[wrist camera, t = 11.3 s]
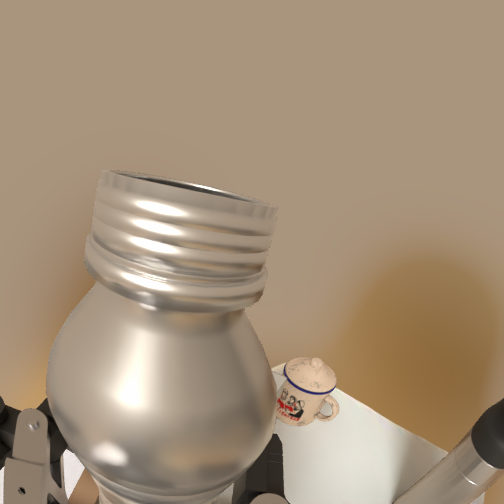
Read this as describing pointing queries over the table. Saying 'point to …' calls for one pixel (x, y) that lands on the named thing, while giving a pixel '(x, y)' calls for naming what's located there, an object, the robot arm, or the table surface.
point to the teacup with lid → (306, 392)
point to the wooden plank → (85, 490)
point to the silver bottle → (167, 342)
